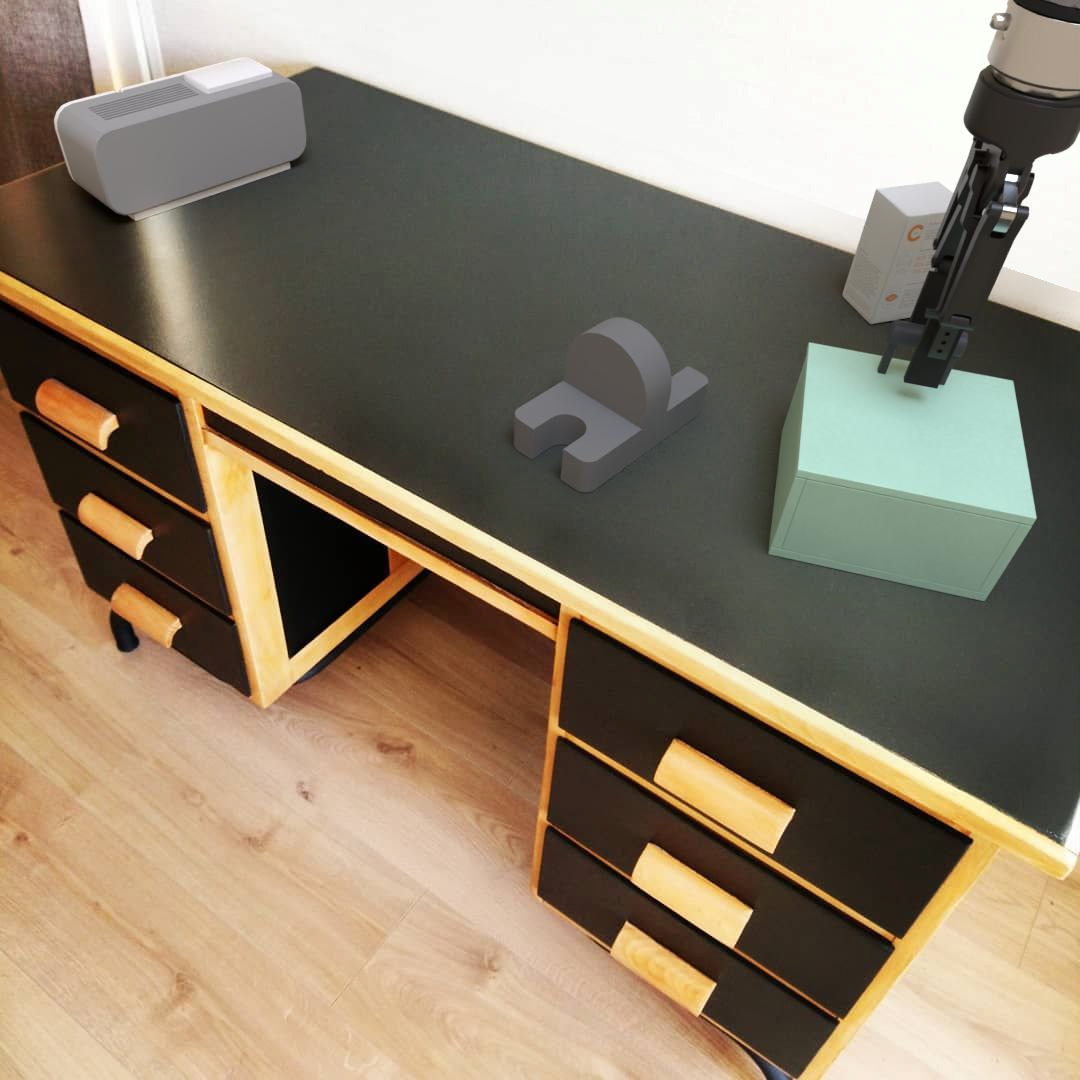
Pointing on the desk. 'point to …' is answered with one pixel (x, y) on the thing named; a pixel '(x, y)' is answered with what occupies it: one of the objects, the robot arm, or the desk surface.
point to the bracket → (609, 404)
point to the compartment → (884, 530)
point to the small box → (896, 250)
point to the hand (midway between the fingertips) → (919, 361)
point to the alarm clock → (182, 136)
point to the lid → (913, 431)
